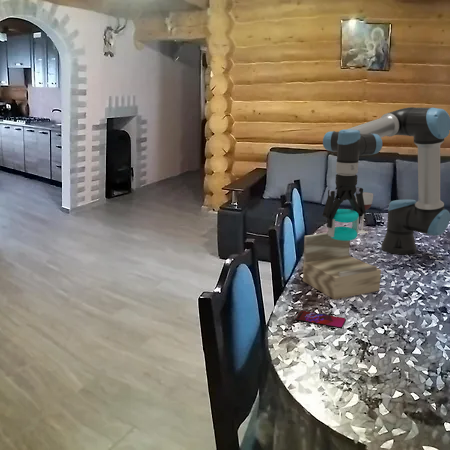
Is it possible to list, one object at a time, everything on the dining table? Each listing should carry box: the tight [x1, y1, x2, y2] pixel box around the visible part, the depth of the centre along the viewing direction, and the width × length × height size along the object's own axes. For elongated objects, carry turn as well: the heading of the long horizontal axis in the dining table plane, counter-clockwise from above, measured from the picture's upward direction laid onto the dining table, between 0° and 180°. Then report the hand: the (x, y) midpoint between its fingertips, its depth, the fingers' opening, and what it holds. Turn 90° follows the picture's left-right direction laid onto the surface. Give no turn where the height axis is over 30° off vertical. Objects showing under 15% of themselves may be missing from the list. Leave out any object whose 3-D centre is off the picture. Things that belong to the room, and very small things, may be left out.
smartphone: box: [294, 310, 347, 329], centre depth 167 cm, size 8×1×15 cm
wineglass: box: [356, 191, 374, 235], centre depth 267 cm, size 8×9×20 cm
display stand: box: [302, 232, 382, 300], centre depth 193 cm, size 20×20×18 cm
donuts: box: [330, 208, 359, 242], centre depth 190 cm, size 10×10×10 cm
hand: (343, 234), depth 191 cm, fingers closed on donuts, 10 cm apart
